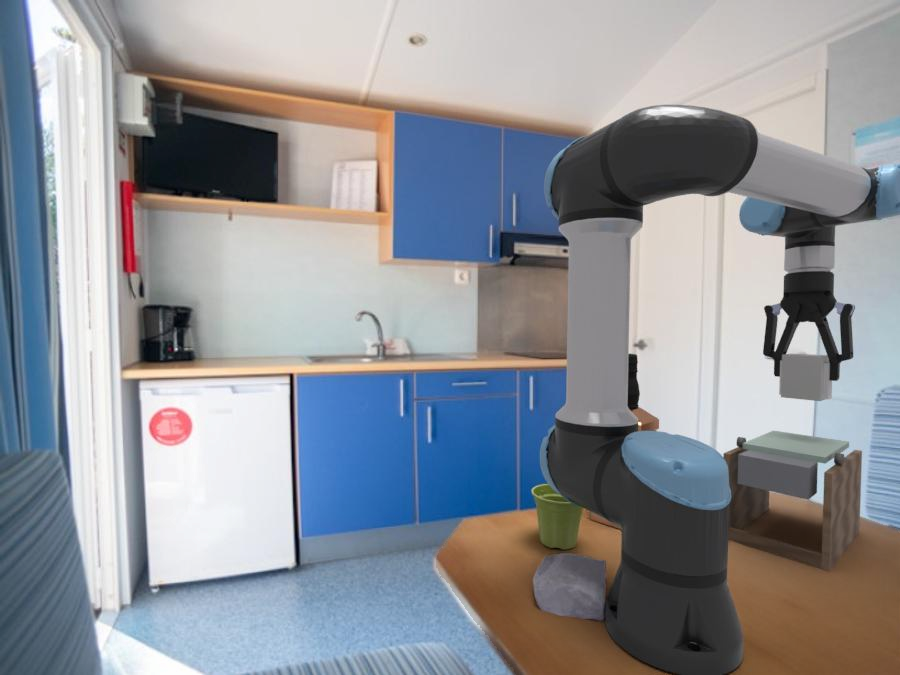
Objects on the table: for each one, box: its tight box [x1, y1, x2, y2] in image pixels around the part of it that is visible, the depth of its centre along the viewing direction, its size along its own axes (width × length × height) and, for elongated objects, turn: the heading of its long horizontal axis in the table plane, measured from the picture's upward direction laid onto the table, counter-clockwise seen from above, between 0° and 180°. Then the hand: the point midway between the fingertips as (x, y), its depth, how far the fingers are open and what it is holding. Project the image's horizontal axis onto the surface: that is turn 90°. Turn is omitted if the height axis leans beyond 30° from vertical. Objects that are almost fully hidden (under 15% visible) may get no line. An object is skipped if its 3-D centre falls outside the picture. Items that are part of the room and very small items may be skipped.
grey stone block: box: [780, 353, 829, 402], centre depth 91 cm, size 6×6×8 cm
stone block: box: [532, 552, 607, 622], centre depth 68 cm, size 12×5×10 cm
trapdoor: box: [738, 430, 850, 500], centre depth 87 cm, size 22×12×6 cm, turn 131°
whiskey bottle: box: [588, 353, 660, 531], centre depth 94 cm, size 10×10×32 cm
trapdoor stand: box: [722, 436, 863, 572], centre depth 88 cm, size 22×15×17 cm
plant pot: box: [531, 483, 584, 551], centre depth 84 cm, size 9×9×9 cm
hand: (804, 396), depth 91 cm, fingers closed on grey stone block, 6 cm apart
